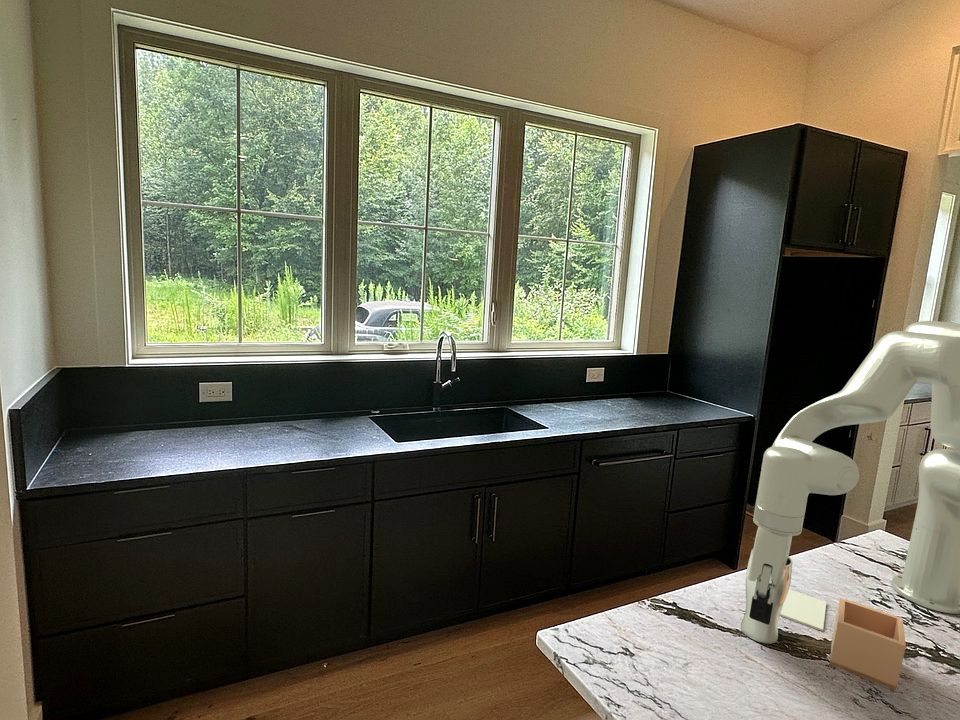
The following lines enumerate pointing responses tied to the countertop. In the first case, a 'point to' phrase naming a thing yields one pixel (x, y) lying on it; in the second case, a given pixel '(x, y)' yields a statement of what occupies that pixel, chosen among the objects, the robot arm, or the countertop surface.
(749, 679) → the countertop surface
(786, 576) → the beer glass
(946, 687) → the countertop surface
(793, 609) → the plain cream tile
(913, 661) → the countertop surface
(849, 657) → the open box
